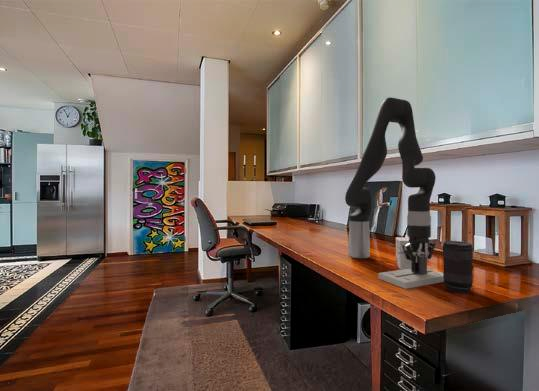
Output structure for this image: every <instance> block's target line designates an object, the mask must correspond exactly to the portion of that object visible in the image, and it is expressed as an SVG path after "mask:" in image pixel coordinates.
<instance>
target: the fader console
mask: <svg viewBox="0 0 539 391" xmlns="http://www.w3.org/2000/svg"><path fill="white" fill-rule="evenodd" d="M378 279H379V280H381V281H384V282H387V283H389V284H392V285H394V286H397V287H399V288H401V289H412V288H418V287H423V286H428V285H434V284H439V283H444V277H443V271H442V272H441V271H439V270H434V269H431V268H428V267H427V274H421V275H420V274H417V273H414V272H411V268H410V269H403V270H402V269H397V270H392V271H391V270H389V271H383V272H378Z"/></svg>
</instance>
